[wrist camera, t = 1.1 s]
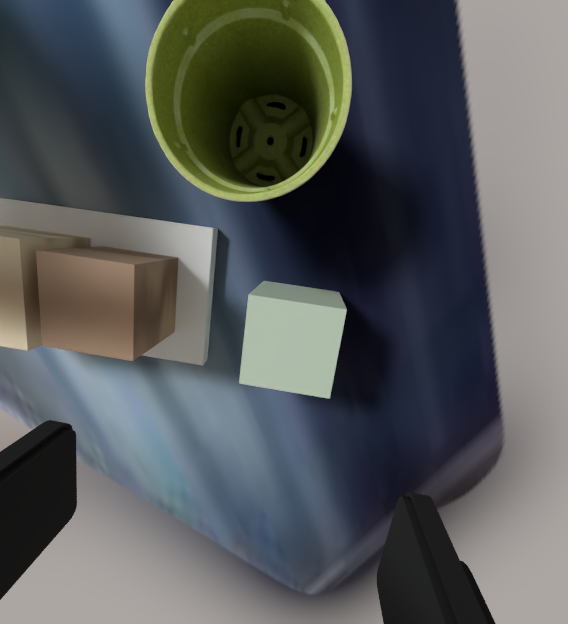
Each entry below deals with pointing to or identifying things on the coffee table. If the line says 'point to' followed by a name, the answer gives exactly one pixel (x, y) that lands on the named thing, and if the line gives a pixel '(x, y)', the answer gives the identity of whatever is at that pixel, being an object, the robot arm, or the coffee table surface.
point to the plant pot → (248, 92)
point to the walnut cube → (106, 300)
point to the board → (150, 239)
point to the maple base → (25, 282)
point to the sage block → (292, 338)
